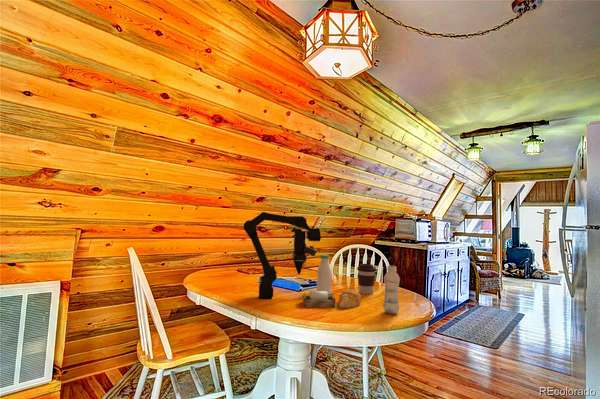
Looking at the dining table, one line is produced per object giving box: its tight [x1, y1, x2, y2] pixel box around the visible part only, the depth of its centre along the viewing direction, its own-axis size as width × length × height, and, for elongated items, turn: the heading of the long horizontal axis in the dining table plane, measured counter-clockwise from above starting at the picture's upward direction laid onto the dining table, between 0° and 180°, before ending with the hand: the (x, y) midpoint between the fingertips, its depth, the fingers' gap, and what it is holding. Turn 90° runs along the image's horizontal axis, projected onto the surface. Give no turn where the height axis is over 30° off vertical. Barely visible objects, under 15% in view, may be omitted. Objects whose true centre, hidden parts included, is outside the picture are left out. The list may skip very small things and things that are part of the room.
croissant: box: [338, 288, 362, 309], centre depth 150 cm, size 21×10×8 cm, turn 149°
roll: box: [308, 290, 329, 300], centre depth 148 cm, size 8×5×5 cm, turn 93°
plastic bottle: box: [382, 265, 401, 315], centre depth 138 cm, size 6×7×20 cm
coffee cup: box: [356, 263, 377, 295], centre depth 173 cm, size 10×10×15 cm
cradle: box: [302, 292, 336, 308], centre depth 148 cm, size 14×8×4 cm, turn 93°
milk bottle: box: [316, 254, 333, 296], centre depth 169 cm, size 8×8×20 cm
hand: (298, 272), depth 161 cm, fingers open, 9 cm apart
